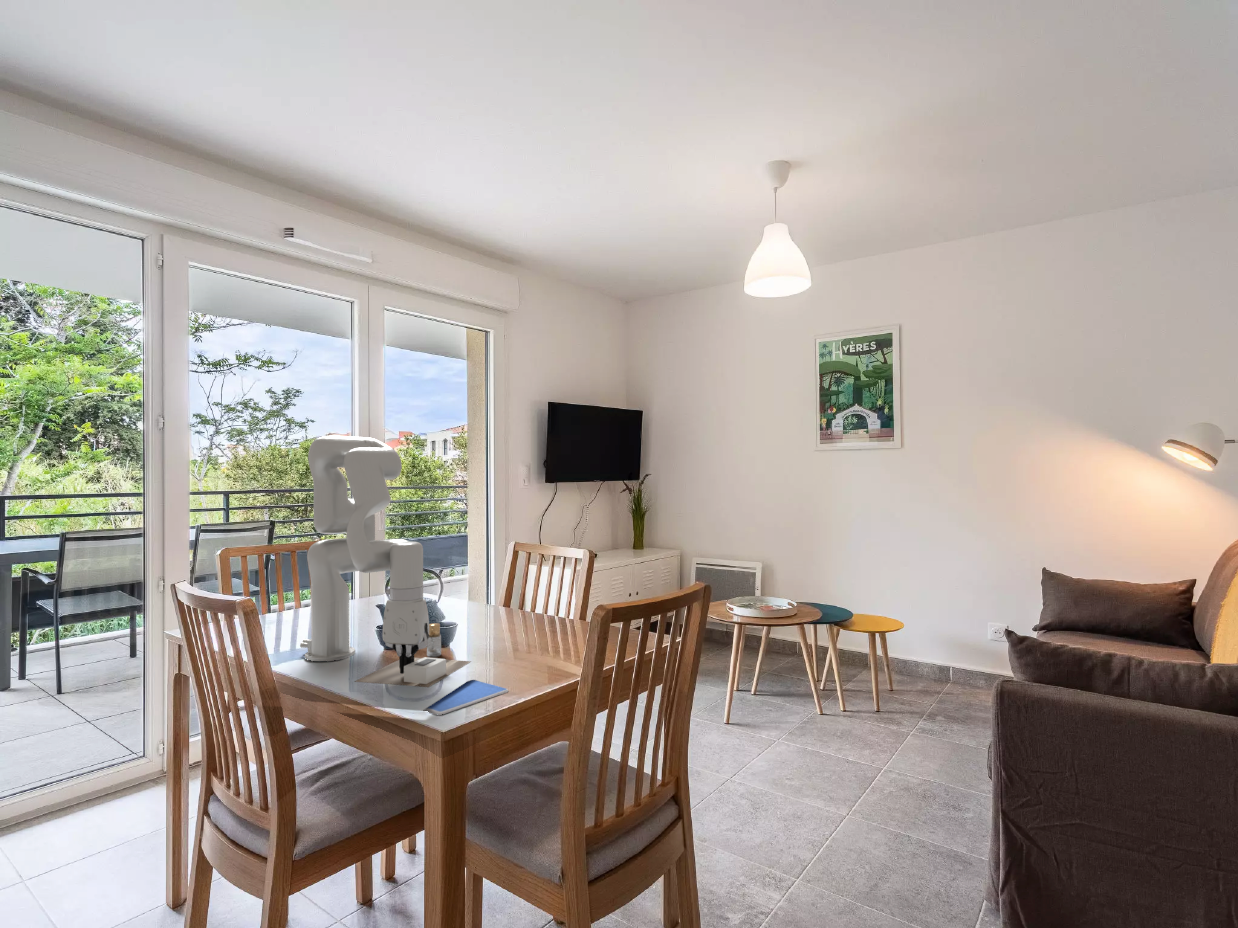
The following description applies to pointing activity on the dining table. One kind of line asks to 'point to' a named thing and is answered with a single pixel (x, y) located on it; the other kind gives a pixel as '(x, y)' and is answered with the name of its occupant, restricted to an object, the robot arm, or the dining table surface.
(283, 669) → the dining table surface
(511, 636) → the dining table surface
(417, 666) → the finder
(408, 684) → the beige flat panel
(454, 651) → the dining table surface
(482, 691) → the tablet computer
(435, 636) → the glass spice jar
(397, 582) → the robot arm
